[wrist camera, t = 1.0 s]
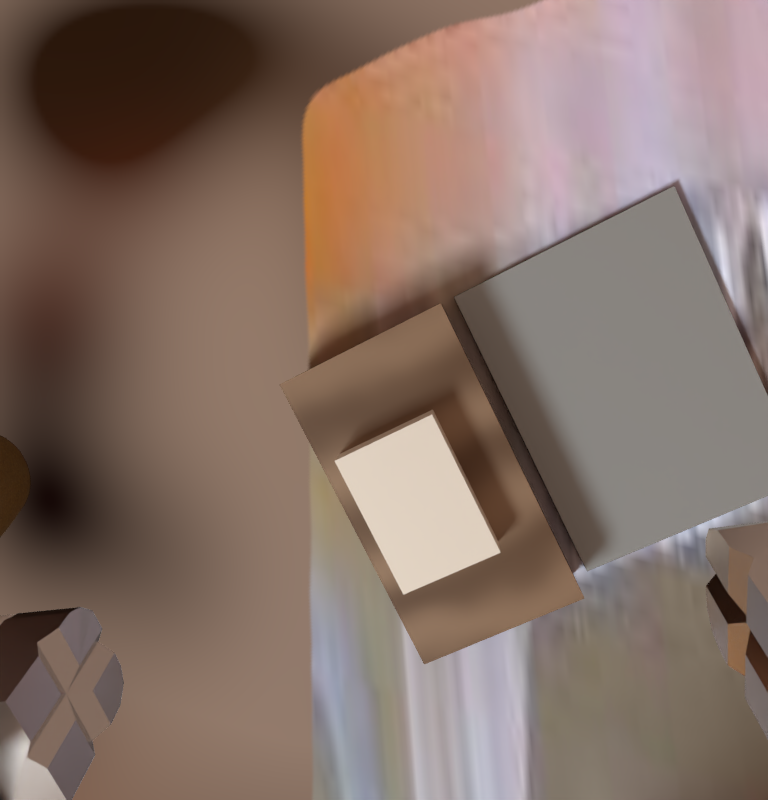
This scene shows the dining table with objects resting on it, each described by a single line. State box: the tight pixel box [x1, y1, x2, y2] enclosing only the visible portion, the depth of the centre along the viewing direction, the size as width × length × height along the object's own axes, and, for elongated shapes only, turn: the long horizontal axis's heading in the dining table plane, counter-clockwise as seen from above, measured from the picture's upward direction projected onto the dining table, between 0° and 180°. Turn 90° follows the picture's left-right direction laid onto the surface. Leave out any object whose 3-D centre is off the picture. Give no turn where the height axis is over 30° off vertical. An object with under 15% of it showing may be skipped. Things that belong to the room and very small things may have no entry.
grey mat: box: [454, 186, 768, 571], centre depth 44 cm, size 22×16×1 cm
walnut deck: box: [280, 303, 584, 664], centre depth 45 cm, size 22×12×4 cm, turn 27°
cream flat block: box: [335, 410, 501, 595], centre depth 42 cm, size 10×7×2 cm
